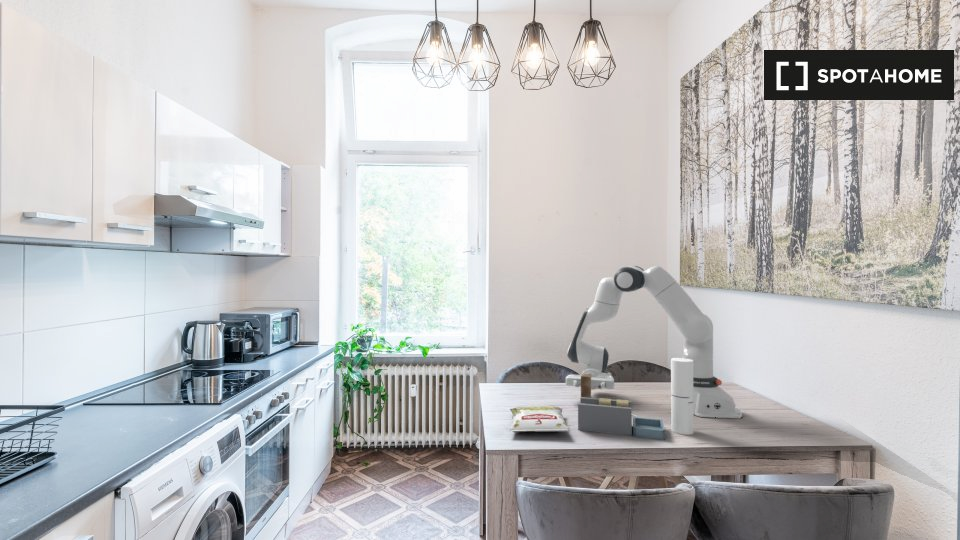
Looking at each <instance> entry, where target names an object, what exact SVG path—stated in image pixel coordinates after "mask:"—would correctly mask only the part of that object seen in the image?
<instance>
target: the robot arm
mask: <svg viewBox="0 0 960 540" xmlns="http://www.w3.org/2000/svg"><path fill="white" fill-rule="evenodd" d="M596 289H597V290H596V293H595V296H594V301H593V303H592V304H591V306H590V307H588V308H586V309H585V310H584V312H583V313H582V316H581V318H580V320H579V323H578V326H577V328H576V331H575V333H574V335H573V338H572V340H571V342H570V344H569V346H568V347H567V351H566V352H567V353H566V354H567V357H568V359H569V360H570V362H571V363H573V364H580V365H581V364H582V365H586V366H585V367H584V368H583V369H582V372H581V374H568V375H567V376H565V385H566V386H568V387H575V388H579V387H580V388H581V375H582V374H591V390H596V389H600V390H602V389H606V390H607V389H608V390H614V389H615V378H614V377H613V376H612V373H611V372H608V371H607V368H608V364H609V357H610V355H609V352H608V349H607V348H606V347H603V346H600V345H595V344H592V343H587V342H583V339H584V335H585V333H586V330H587V328H588V327H589V326H590V325H591V324H595V323H603V322H607V321H610V320H612V319H614V318H615V317H616V316H617V315H618V312H619V308H620V304H621V298H622V296H623V293H625V292H626V293H630V292H636V291H639V290H640V289H646V290H647V291H648V292H649V293H650V294H651V295H652V297H653V298H654V299H655V300H656V301H657V303H658V304H659V305H660V306H661V308H662V309H663V310H664V311H665V312H666V314H668V317H669V318H670V320H671V321H672V322H673V324H674V325H675V326H676V328H677V329H678V331H680V333H681V334H682V335H683V341H682V343H683V345H682V346H683V347H682V348H683V349H682V358H686V359H691V360H693V409H694V415H695V416H697V417H701V418H715V417H716V418H717V419H718V418H719V419H741V417H743V413H742V411H741V410H740V409H739V408H737V407H736V403H735V399H734V398H733V397H732V396H731V394H729V393H728V392H727V391H725V390H724V389H723V388H722V387H720V386H721V385H722V384H723V381H722V380H721V379H719V378H717V377H716V376H714V324H713V321H712V319H711V318H710V317H709V316H707V314H704V313H703V312H702V310H701V309H700V308H699V307H698V306H697V304H696V303H695V301H693V299H692V298H691V296H690V295H689V294H688V293H687V292H686V290H685V289H684V288H683V287H682V286H681V285H680V284H679V283H678V282H677V280H676V279H675V278H674V277H673V276H672V275H671V274H670V272H668V271H667V270H665V269H664V268H663V267H661V266H659V265H653V266H651V267H649V268H647V269H646V270H644V269H643V268H642V267H640V266H639V265H628V266H624V267H621V268H619V269H617V271H616V272H615V274H614V275H613V277H611V276H608V277H607V276H606V277H603V278H602V279H601V280H600V281H599V284H598V286H597V288H596Z"/></svg>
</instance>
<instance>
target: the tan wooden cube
mask: <svg viewBox="0 0 960 540" xmlns="http://www.w3.org/2000/svg"><path fill="white" fill-rule="evenodd" d="M616 400H617V407H629V404H628V401H629V400H628V399H627V400H626V399H616Z"/></svg>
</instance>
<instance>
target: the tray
mask: <svg viewBox="0 0 960 540" xmlns="http://www.w3.org/2000/svg"><path fill="white" fill-rule="evenodd" d="M638 417H639V416H638ZM638 417H634V416H632V436H633V437H635V438H642V439H643V438H645V439H652V440H662V441H665V440H666V428H665V425H664V421H663V419H660V418H658V419H657V418H656V419H655V418H648V417H647V418H646V417H639V418H638Z"/></svg>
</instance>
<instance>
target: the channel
mask: <svg viewBox="0 0 960 540" xmlns="http://www.w3.org/2000/svg"><path fill="white" fill-rule="evenodd" d="M599 398H600V397H599ZM599 398H598V397H597V398H596V397H591V398H587V397H581V396H580V397H579V399H580V400H579V402H578V404H577V430H578V431H587V432H596V433H597V432H598V433H606V434H614V435H615V434H616V435H624V436H633V416H632V414H633V410H632V400H628V404H629V407H617V399H611V398H610V399H611V406H606V405H599Z"/></svg>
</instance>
